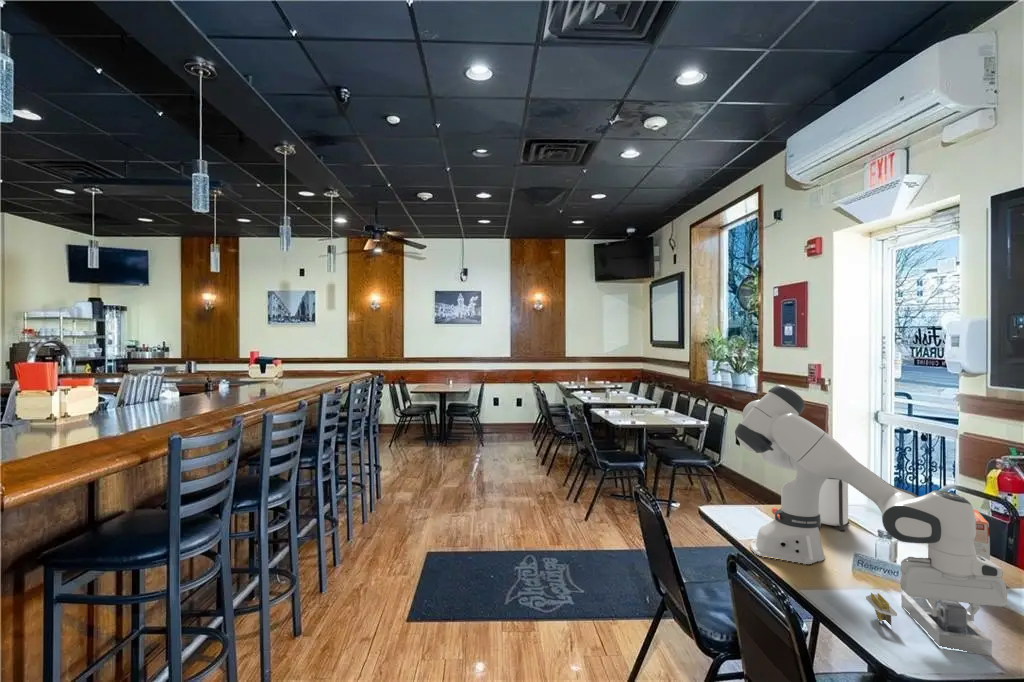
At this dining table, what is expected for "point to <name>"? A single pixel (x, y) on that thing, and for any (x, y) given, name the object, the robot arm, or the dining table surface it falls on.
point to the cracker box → (981, 536)
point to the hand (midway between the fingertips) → (952, 617)
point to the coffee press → (834, 503)
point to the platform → (881, 607)
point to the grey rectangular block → (952, 617)
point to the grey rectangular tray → (966, 642)
